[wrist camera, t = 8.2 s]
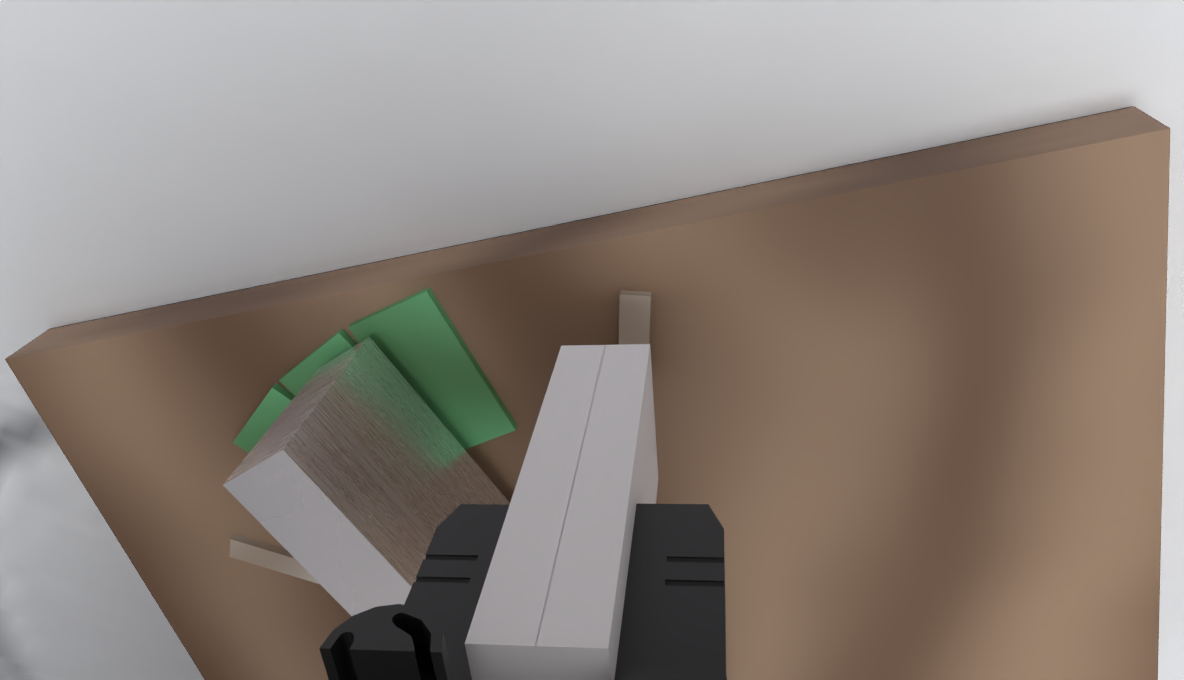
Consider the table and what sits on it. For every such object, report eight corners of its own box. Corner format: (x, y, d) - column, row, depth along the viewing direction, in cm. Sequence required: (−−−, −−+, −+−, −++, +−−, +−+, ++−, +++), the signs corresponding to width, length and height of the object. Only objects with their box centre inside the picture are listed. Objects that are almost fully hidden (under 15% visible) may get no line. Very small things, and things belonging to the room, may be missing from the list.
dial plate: (280, 722, 28) (255, 771, 26) (49, 329, 22) (-2, 363, 20) (1131, 663, 22) (1160, 721, 20) (1134, 106, 16) (1175, 131, 14)
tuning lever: (748, 707, 22) (751, 921, 17) (600, 757, 23) (570, 963, 19) (422, 303, 18) (320, 448, 13) (270, 398, 19) (135, 554, 15)
